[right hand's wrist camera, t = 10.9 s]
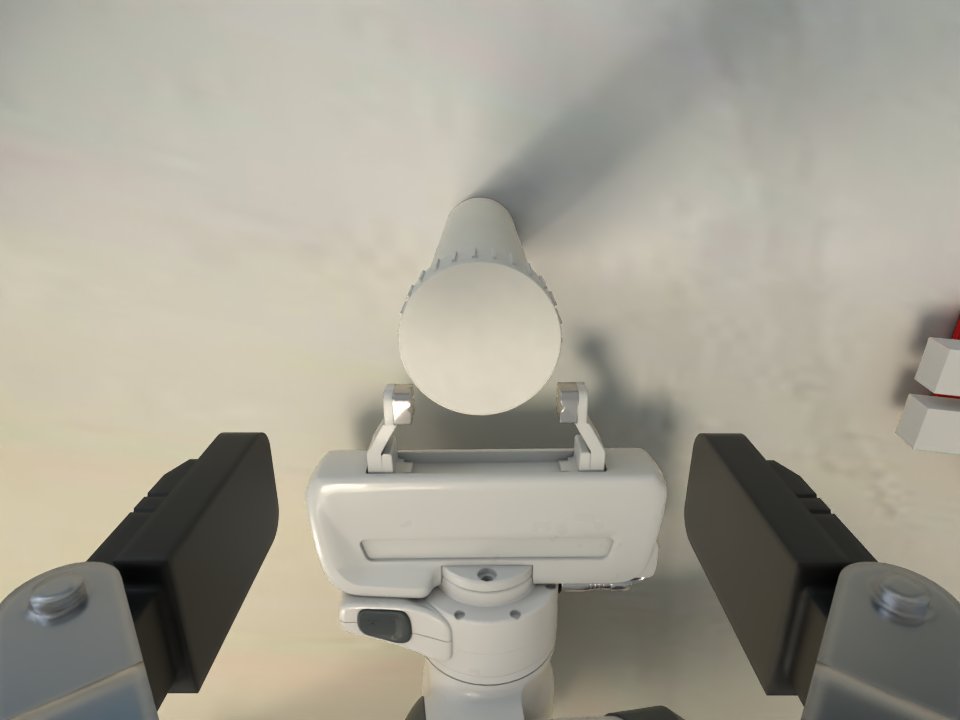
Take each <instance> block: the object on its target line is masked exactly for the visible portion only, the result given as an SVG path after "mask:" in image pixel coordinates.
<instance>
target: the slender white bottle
mask: <svg viewBox="0 0 960 720" xmlns="http://www.w3.org/2000/svg"><path fill="white" fill-rule="evenodd" d="M472 247H476V250H477V249H484V250H491V249H492V248H495V251H498V252H502V253H505V254H508V255H510V253H512V254H514V257H515V258H516V259H518V260H520V261H522V262H523V263H525V264H526V263H527V259H526V257H525V254H524V251H523V248H522V245H521V242H520V239H519V236H518V233H517V231H516V228H515V225H514V222H513V220H512V217H511V215H510V214H509V212H508V211H507V210H506V209H505V208H504V207H503V206H502V205H501V204H499V203H498V202H496V201H494V200H491V199H488V198H471V199H468V200H466V201H464V202H462V203H460V204H459V205H457V206H456V207H455V208H454V209H453V210H452V212H451V213H450V215H449V216H448V218H447V221H446V224H445V227H444V230H443V232H442V235H441V238H440V241H439V244H438V247H437V250H436V253H435V256H434V259H433V262H432V265H431V266H433V265H434V264H435V261H436V260H437V259H438V258H439V260H441V259H443V258H445V257H447V256H450V255H452V254H453V251H457V253H458V252H461V251H467V250H472Z"/></svg>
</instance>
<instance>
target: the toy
mask: <svg viewBox="0 0 960 720" xmlns="http://www.w3.org/2000/svg"><path fill="white" fill-rule="evenodd" d="M914 379H915V380H916V381H918V382H919V383H921V384H922V385H923V386H925V387H926V388H927V389H929V390H930V391H931V392H933V396H928V395H919V394H910V393H909V395H908V398H907V401H906V404H905V406H904V409H903V412H902V415H901V418H900V420H899V423H898V426H897V429H896V432H895V433H896V434H897V435H898V436H899V437H901V438H902V439H903V440H904V441H905V442H906V443H907V444H908V445H909V446H910V447H911V448H912V449H915V450H923V451H931V452H940V453H948V454H957V455H960V317H959V320H958V323H957V326H956V328H955V331H954V334H953V337H952V339H945V338H935V337H929V339H928V342H927V345H926V347H925V350H924V353H923V356H922V359H921V361H920V364H919V367H918V370H917V373H916V375H915V378H914Z"/></svg>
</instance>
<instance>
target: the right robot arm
mask: <svg viewBox="0 0 960 720" xmlns="http://www.w3.org/2000/svg"><path fill="white" fill-rule="evenodd" d="M816 495H817V494H816V493H815V492H814V491H813V490H812V489H811V488H810V487H809V486H808V484H807V483H806V482H805V481H804V480H803V479H802V478H801V477H800V476H799V475H797V474H796V473H794V472H792V471H791V470H789V469H787V468H786V467H784V466H782V465H781V464H779V463H777V462H776V461H774V460H765V459H764V457H763V456H762V455H761V454H760V453H759V451H758V450H757V449H756V448H755V447H754V446H753V444H752V443H751V442H750V441H749V440H748V439H747V437H746V436H745V435H743V434H740V433H701V434H699V435H697V437H696V439H695V442H694V446H693V452H692V459H691V466H690V473H689V480H688V487H687V494H686V501H685V510H684V518H685V527H686V532H687V536H688V539H689V541H690V544H691V546H692V548H693V550H694V552H695V554H696V556H697V558H698V560H699V562H700V564H701V566H702V568H703V570H704V572H705V574H706V576H707V578H708V580H709V582H710V584H711V585H712V587H713V589H714V591H715V593H716V595H717V597H718V599H719V601H720V603H721V605H722V607H723V609H724V611H725V613H726V615H727V617H728V619H729V621H730V623H731V625H732V627H733V629H734V631H735V633H736V635H737V637H738V639H739V641H740V643H741V645H742V647H743V649H744V651H745V653H746V655H747V657H748V659H749V661H750V663H751V665H752V667H753V669H754V671H755V673H756V675H757V677H758V679H759V681H760V683H761V685H762V687H763V689H764V691H765V693H766V695H798V697H799V699H800V700H801V702H802V704H803V706H804V710H803V714H802V718H801V720H960V603H959V602H958V601H957V600H956V599H955V598H954V597H953V596H952V595H951V594H950V593H949V592H947V591H946V590H945V589H944V588H942V587H941V586H939V585H938V584H936V583H935V582H933V581H931V580H929V579H928V578H926V577H924V576H922V575H920V574H917V573H915V572H913V571H910V570H908V569H905V568H902V567H898V566H895V565H891V564H886V563H880V562H878V561H877V560H876V559H875V558H874V557H873V556H872V555H871V554H870V553H869V552H868V550H867V549H866V548H865V547H864V546H863V545H862V544H861V543H860V542H859V541H858V539H857V538H856V537H855V536H854V535H853V534H852V533H851V532H850V531H849V530H848V528H847V527H846V526H845V525H844V524H843V523H842V522H841V521H840V520H839V519H838V517H837V516H836V515H835V514H831V510H830V509H829V508H828V506H827V505H826V504H825V503H824V502H823V501H822V500H821V499H820V498H817V496H816ZM278 518H279V506H278V498H277V491H276V484H275V477H274V470H273V463H272V456H271V449H270V443H269V440H268V437H267V435H266V434H265V433H220V434H219V435H218V436H217V437H216V438H215V440H214V441H213V442H212V443H211V444H210V445H209V447H208V448H207V449H206V450H205V451H204V453H203V454H202V455H201V456H200V457H199V459H189V460H188V461H186V462H185V463H183V464H181V465H180V466H178V467H176V468H175V469H173V470H171V471H170V472H168V473H166V474H165V475H164V476H163V477H162V478H161V479H160V480H159V481H158V482H157V483H156V484H155V486H154V487H153V488H152V489H151V490H150V491H149V492H148V496H147V497H144V498H143V499H142V500H141V501H140V502H139V503H138V504H137V506H136V507H135V508H134V512H130V513H129V514H128V516H127V517H126V518H125V519H124V520H123V521H122V522H121V523H120V524H119V526H118V527H117V528H116V529H115V530H114V531H113V532H112V533H111V534H110V536H109V537H108V538H107V539H106V540H105V541H104V542H103V543H102V544H101V546H100V547H99V548H98V549H97V550H96V551H95V552H94V553H93V554H92V556H91V557H90V558H89V559H88V560H87V561H86V562H80V563H74V564H69V565H65V566H62V567H58V568H55V569H52V570H50V571H47V572H45V573H43V574H40V575H38V576H36V577H34V578H32V579H31V580H29V581H27V582H25V583H24V584H22V585H21V586H19V587H18V588H16V589H15V590H14V591H13V592H11V593H10V594H9V595H8V596H7V597H6V598H5V599H4V600H3V601H2V602H1V603H0V720H159V718H158V714H157V711H158V709H159V707H160V706H161V704H162V702H163V700H164V698H165V697H166V695H167V693H198V692H199V690H200V688H201V686H202V684H203V682H204V680H205V678H206V676H207V674H208V672H209V670H210V668H211V666H212V664H213V662H214V660H215V658H216V656H217V654H218V652H219V650H220V648H221V646H222V644H223V642H224V640H225V638H226V636H227V634H228V632H229V630H230V628H231V626H232V624H233V622H234V620H235V618H236V616H237V614H238V612H239V610H240V608H241V605H242V603H243V601H244V599H245V597H246V595H247V593H248V591H249V589H250V587H251V585H252V583H253V581H254V579H255V577H256V575H257V573H258V571H259V569H260V567H261V565H262V563H263V561H264V559H265V557H266V555H267V553H268V551H269V549H270V547H271V545H272V543H273V541H274V538H275V535H276V532H277V527H278Z"/></svg>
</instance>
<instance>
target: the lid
mask: <svg viewBox="0 0 960 720" xmlns="http://www.w3.org/2000/svg"><path fill="white" fill-rule="evenodd" d="M406 298H407V299H408V301H407V302H405V303H404V305H403V308H402V310H401V312H400V317H401V320H400V326H399V329H398V332H397V335H398V342H399V351H400V355H401V360H402V362H403V365H404V367H405V370H406V371H407V373H408V375H409V377H410V379H411V380H412V381H413V383H414V384H415V385H416V387H417V388H418V389H419V390H420V391H421V392H422V393H423V394H424V395H426V396H427V397H428V398H429V399H431V400H432V401H434V402H435V403H437V404H439V405H440V406H443V407H445V408H447V409H449V410H452V411H455V412H459V413H464V414H469V415H490V414H497V413H501V412H505V411H508V410H510V409H513V408H515V407H518V406H519V405H521V404H523V403H525V402H526V401H528V400H529V399H530V398H532V397H533V396H534V395H535V394H536V393H538V392H539V391H540V390H541V389H542V387H543V386H544V385H545V384H546V383H547V381H548V380H549V378H550V377H551V375H552V373H553V371H554V369H555V367H556V365H557V362H558V359H559V355H560V350H561V342H562V337H561V335H562V333H561V326H560V324H561V323H562V321H561V318H560V316H559V313H558V311H557V309H556V308H555V305H557V304H556V302H555V299H554V297H553V295H552V292H551V291H550V292H548V290H547V286H546V284H545V282H544V279H543V277H542V276H538V275H537V274H536V273H535V272H534V271H533V270H532V269H531V266H530V264H529V263H528V262H527V263H526V264H525V263H523V262H522V261H520V260H518V259H516V258H515V257H514V254H512V253H510V255H508V254H505V253H502V252H498V251H495V248H492V249H491V250H484V249H477V250H476V247H472V250H467V251H461V252H458V253H457V251H453V254H452V255H450V256H447V257H445V258H443V259H441V260H439V258H438V259H437V260H436V261H435V264H434V265H433V266H431V267H430V268H429V269H428V270H427V271H426V272H425V271H424V270H423V271H422V272H421V275H420V277H419V280H418V281H417V283H416V284H415V286H413V285H412V286H411V288H410V290H409V293H408V295H407V297H406Z"/></svg>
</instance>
